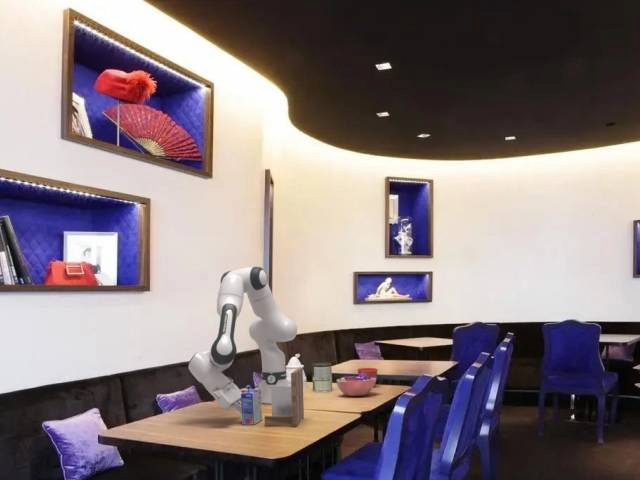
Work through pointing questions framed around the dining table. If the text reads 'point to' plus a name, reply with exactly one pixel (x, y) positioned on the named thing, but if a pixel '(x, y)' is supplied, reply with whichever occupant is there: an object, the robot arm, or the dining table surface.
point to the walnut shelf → (296, 403)
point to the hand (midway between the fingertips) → (243, 411)
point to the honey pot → (293, 366)
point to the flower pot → (369, 372)
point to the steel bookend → (281, 401)
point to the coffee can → (322, 377)
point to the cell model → (356, 384)
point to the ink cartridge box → (251, 406)
